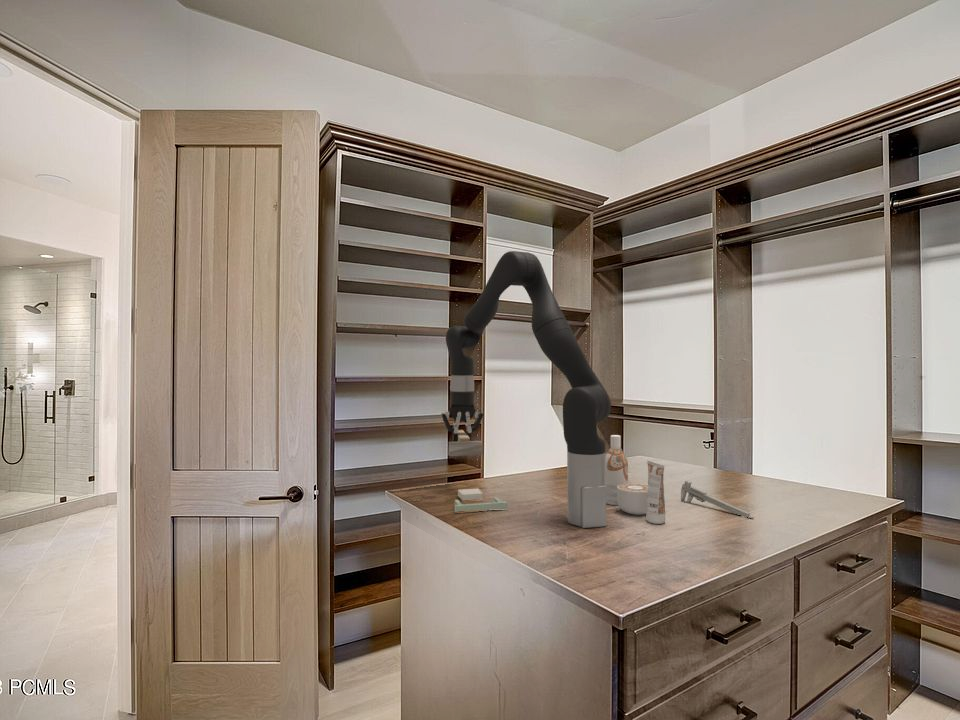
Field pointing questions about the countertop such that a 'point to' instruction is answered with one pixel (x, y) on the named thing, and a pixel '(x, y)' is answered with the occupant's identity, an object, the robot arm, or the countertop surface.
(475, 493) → the tile
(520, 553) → the countertop surface
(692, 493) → the caliper
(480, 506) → the tile stop
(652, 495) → the cosmetic set
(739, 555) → the countertop surface
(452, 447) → the grey rectangular block
